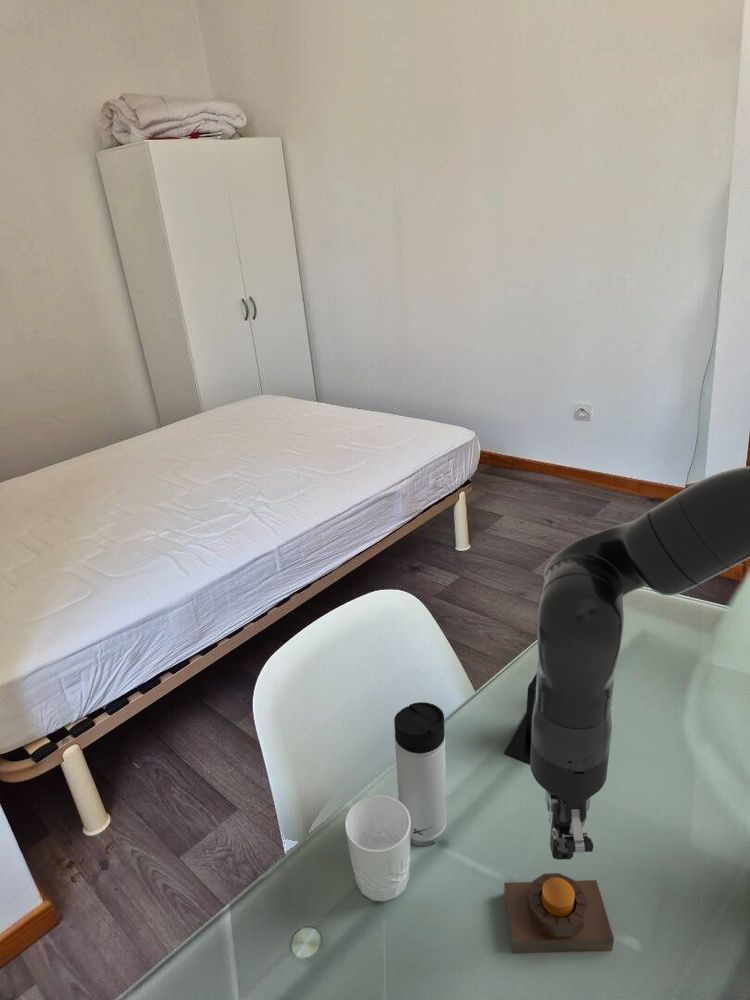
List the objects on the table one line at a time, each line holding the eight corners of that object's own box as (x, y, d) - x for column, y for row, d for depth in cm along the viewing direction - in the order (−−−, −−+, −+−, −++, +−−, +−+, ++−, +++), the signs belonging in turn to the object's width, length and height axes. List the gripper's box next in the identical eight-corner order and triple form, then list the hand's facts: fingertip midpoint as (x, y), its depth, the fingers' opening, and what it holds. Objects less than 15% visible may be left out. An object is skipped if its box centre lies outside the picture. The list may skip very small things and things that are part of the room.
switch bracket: (529, 711, 111) (532, 653, 105) (585, 731, 106) (591, 671, 101) (503, 758, 102) (505, 697, 97) (563, 781, 98) (568, 719, 93)
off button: (569, 886, 80) (570, 876, 79) (577, 916, 77) (578, 906, 76) (538, 887, 80) (539, 877, 80) (545, 917, 77) (545, 907, 76)
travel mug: (424, 858, 88) (419, 743, 80) (390, 825, 93) (382, 713, 84) (458, 829, 92) (457, 716, 83) (424, 799, 97) (420, 689, 88)
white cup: (360, 915, 82) (354, 860, 78) (344, 858, 89) (338, 804, 85) (422, 895, 84) (419, 839, 80) (402, 841, 91) (398, 787, 86)
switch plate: (594, 891, 83) (597, 869, 81) (612, 951, 77) (615, 929, 75) (503, 894, 84) (504, 872, 82) (513, 953, 77) (514, 931, 75)
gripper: (520, 691, 74) (516, 803, 82) (545, 793, 62) (538, 913, 70) (591, 689, 74) (580, 801, 81) (629, 790, 62) (613, 911, 70)
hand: (561, 853), depth 76 cm, fingers closed
